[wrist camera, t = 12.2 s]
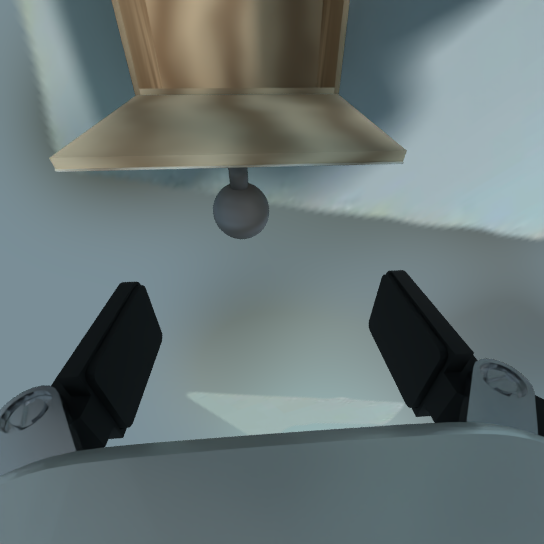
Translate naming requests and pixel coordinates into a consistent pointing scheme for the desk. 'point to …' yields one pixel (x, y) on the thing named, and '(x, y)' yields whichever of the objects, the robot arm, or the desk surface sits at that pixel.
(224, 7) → the wooden box
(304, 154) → the wooden box lid
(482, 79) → the desk surface
